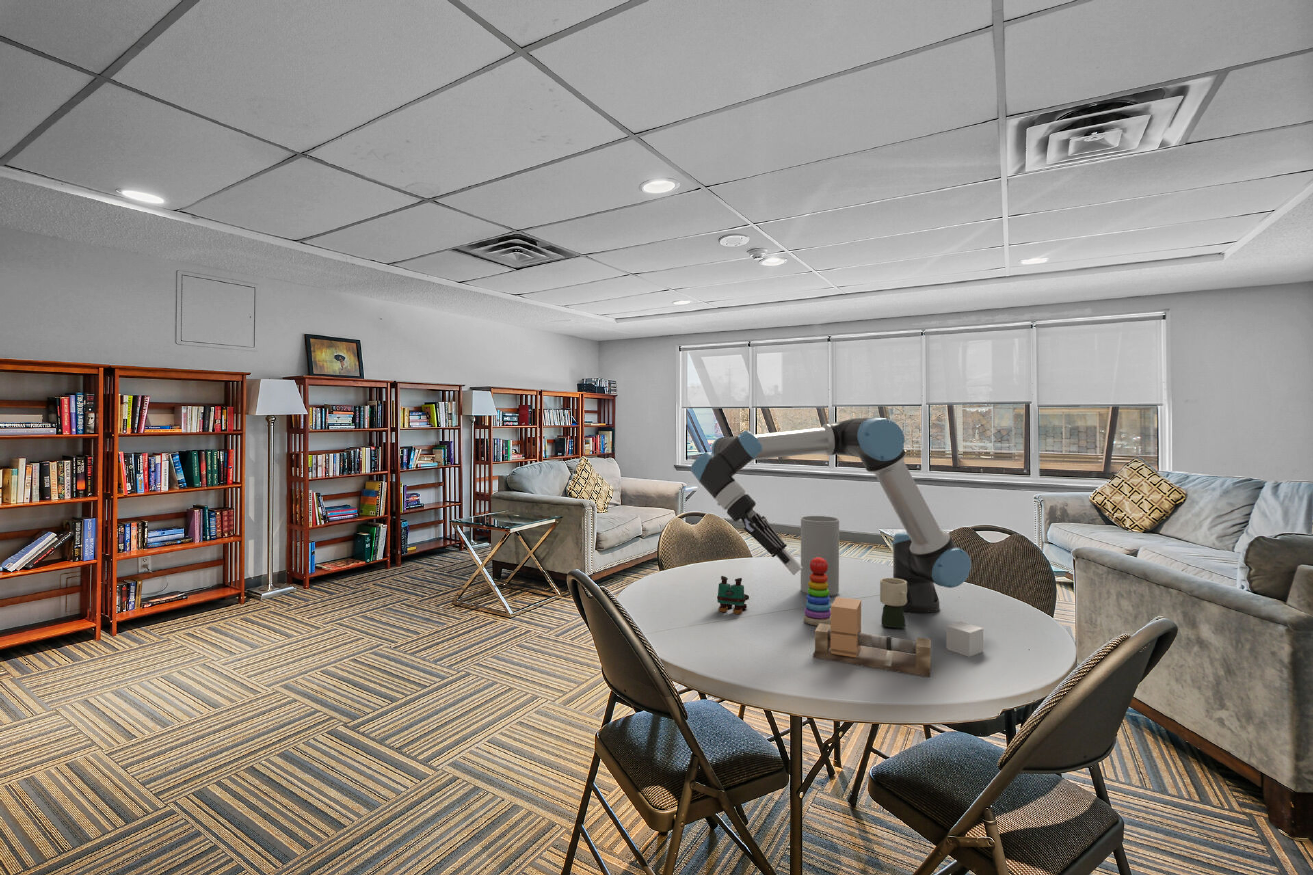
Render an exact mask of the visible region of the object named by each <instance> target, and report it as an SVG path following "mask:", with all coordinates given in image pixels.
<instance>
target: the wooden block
mask: <svg viewBox="0 0 1313 875" xmlns="http://www.w3.org/2000/svg"><path fill="white" fill-rule="evenodd" d="M830 611H831V624H830V625H831V654H837V655H844V656H850V657H857V655H858V652H859V649H860V647H861V646H859V645H858V633H862V599H855V598H847V597H839V596H836V597H835V599H834V601H833V602H832V603H831V608H830Z"/></svg>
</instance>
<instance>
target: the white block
mask: <svg viewBox="0 0 1313 875" xmlns="http://www.w3.org/2000/svg"><path fill="white" fill-rule="evenodd" d="M946 650H949V651H952V652H955V653H958V654H961V655H963V656H967V657H972V656H976V655H978V654H980V653H983V652H984V627H980V626H977V625H974V624H973V625H972V624H970V623H967V622H963V621H958V622H955V623H951V624H949V625H946Z"/></svg>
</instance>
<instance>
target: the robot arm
mask: <svg viewBox="0 0 1313 875" xmlns="http://www.w3.org/2000/svg"><path fill="white" fill-rule="evenodd" d="M905 443H906V439H905V434H904V431H903V430H902V428H901V427H900V425H898V423H896V422H895V421H893V420H891V419H888V418H883V417H880V416H879V417H877V416H874V417H855V418H849V419H845V420H843V421H837V422H831V423H824V424H822V425H821V427H814V428H808V429H807V428H806V429H797V430H786V431H775V432H767V433H756V434H754V433H752V432H751V431H750V430H743V431H742V432H741V433H740V434H737V436H721V437H718V438H716V439H715V440H714V442H713V443H712V445H711V452H708V451H707V452H704V453H703V454H702V455H700V456H698V457H697V458H696V459H695V460H694V461H693V463H692V464H691V466H690V472H691V473H692V474H693V476H694V478H696V479H697V481H698V482H699V483H700V485H702V486H703V487H704V489H705V490H706V492H708V493H709V494H710V496H712V498H713V499H714V500H715V501H716V502H717V505H718V506H721V508H722V509H723V510H727V511H726V513H727V515H728V516H729V517H730V518H731V519H732V521H733V522H739V521H740V520H741V522H742V523H743V524H744V527H743V530H744V531H745V532H746V533H747V534H748V535H750V536H751V537H752V538H753V539H754V540H756V542H757V543H758V544H759V545H760V546H762V548H764V549H765V551H767V552H768V553H769V554H770V556H771V557H772V558H775V556H776V557H777V559H778V560H779V561H780V562H781V563H782V564H783V565H784V566H785V567H786V568H787V570H788V571H789V572H790V573H791V574H792V575H793V576H795V575H797V573H799V572H800V571H801V569H802V568H803V567H802V566H801V563H799V562H798V561H797V560H796V558H795V557H794V556H793V555H792V554H791V553H790V551H789V550H787V548H786V547H787V546H788V544H787V543H785V542H784V541H783V539H782V538H781V536H780V535H779V534H778V533H777V532H776V530H775V529H774V528H773V527H772V526H771V524H770V522H769V521H768V519H767V518H766V516H764V515H760V513H758V512H756V511H755V510H754V508H755V507H756V505H757V504H756V503H757V502H756V501H755V500H754V498H752V497H751V496H750V495H749V494H748V493H747V494H746V490H745V489H744V488H743V487H742V486H741V484H740V483H738V482H737V480H736V479H735V478H734V477H733V476H735V475H736V474H737V473H738V472H740V471H741V470H742V469H743V468H744V467H745V466H747V465H748V464H749V463H751V462H752V461H753V460H754V461H756V460H757V461H758V460H765V459H774V458H775V459H777V458H784V457H786V458H787V457H793V456H794V457H795V456H802V455H803V456H804V455H813V454H824V455H826V456H836V455H837V456H848V457H855V458H859V459H860V461H861V462H862V464H863V466H864V468H865V470H866V472H868V473H873V474H874V476H875V477H876V479H877V480H878V483H879V485H880V486H881V488H882V489H883V491H884V494H885V495H886V498H887V499H888V501H889V502H890V504H891V506H892V508H893V510H894V512H895V514H896V515H897V517H898V519H899V521H900V523H901V525H902V527H903V529H904V530H905V531H904V532H897V533H895V534H894V536H893V541H892V547H893V548H892V549H893V550H892V553H893V554H892V555H893V556H892V557H893V559H892V560H893V561H892V562H893V563H892V564H893V565H892V568H893V570H892V572H893V574H892V575H893V576H892V578H897V579H902V580H905V581H907V595H906V598H907V603H906V604H905V605H903V606H902V608H903V610H904V612H909V613H910V612H911V613H920V614H921V613H922V614H925V613H926V614H927V613H928V614H929V613H933V612H938V611H939V610H940V599H939V595H938V592H937V590H936V587H935V585H937V586H939V587H944V588H949V589H951V588H957V587H959V586H961V585H962V584H963V583H964V582H966V581H967V579H968V577H969V576H970V571H971V570H972V561H971V557H970V555H969V554H968V553H967V552H966V551H964V550H963V549H962V548H960V547H957V545H956V544H955V542H954V540H953V539H952V536H951V535H950V533H949V532H947V531H946V530H945V531H944V530H941V528H940V526H939V525H938V523H937V521H936V519H935V516H934V515H933V513H932V511H931V509H930V508H929V505H928V504H927V502H926V500H925V498H924V497H923V495H922V493H921V490H920V489H919V487H918V485H917V483H916V482H915V480H914V478H913V475H912V474H911V472H910V471H909V470H910V469H908V467H907V465H906V463H905V461H904V460H905V458H906V455H907V454H906V453H907V452H906V451H905V449H904V448H905Z"/></svg>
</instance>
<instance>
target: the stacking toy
mask: <svg viewBox="0 0 1313 875" xmlns="http://www.w3.org/2000/svg"><path fill="white" fill-rule="evenodd" d="M810 569H811V571H812V572H813V573H812V574H811V575H810V580H811V581H809V583H808V585H809V588H808V593H809V594H806V602H805V608H804V610H803V611H804V614H803V621H804V623H806V624H808V625H811V626H814V627H815V626H816V627H818V625H819V623H822V624H829V625H831V605H832V603H831V596H828V595H829V590H828V589H827V588H828V583H827V582H826V581H827V579H828V577H827V575H825V573H826V571H827V569H828V564H827V562H826V560H825V559H823V558H820V557H816V558H814V559H812V560H811V562H810Z"/></svg>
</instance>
